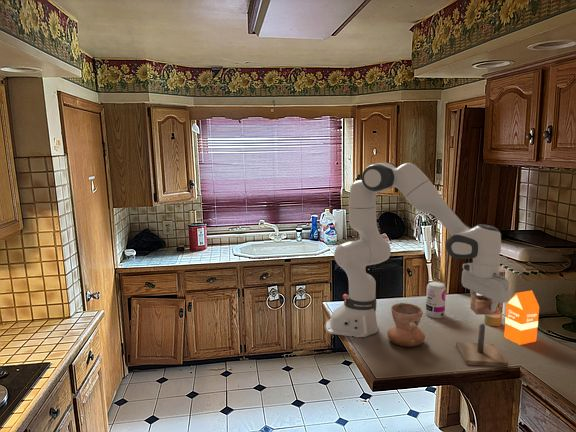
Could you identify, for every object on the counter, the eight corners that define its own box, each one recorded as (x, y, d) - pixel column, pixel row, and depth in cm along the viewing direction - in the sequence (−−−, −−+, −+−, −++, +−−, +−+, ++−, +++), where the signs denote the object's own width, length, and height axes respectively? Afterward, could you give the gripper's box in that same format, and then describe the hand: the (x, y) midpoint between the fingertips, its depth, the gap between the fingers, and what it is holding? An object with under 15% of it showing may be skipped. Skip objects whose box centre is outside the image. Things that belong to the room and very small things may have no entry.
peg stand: (465, 364, 152) (467, 331, 150) (455, 345, 166) (457, 315, 163) (506, 366, 150) (509, 333, 148) (493, 347, 164) (495, 317, 162)
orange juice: (503, 336, 173) (507, 290, 169) (520, 333, 176) (524, 287, 172) (520, 345, 166) (524, 296, 162) (536, 341, 168) (541, 293, 165)
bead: (476, 314, 152) (477, 301, 151) (470, 308, 158) (471, 295, 157) (493, 314, 151) (494, 301, 151) (486, 308, 157) (487, 295, 157)
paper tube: (484, 325, 183) (488, 270, 179) (483, 319, 189) (487, 265, 185) (502, 328, 181) (506, 271, 176) (500, 321, 187) (504, 267, 183)
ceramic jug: (430, 352, 161) (432, 316, 159) (392, 352, 161) (394, 316, 159) (416, 332, 179) (417, 299, 177) (382, 332, 179) (383, 300, 177)
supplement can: (446, 313, 196) (447, 282, 194) (441, 320, 190) (443, 288, 187) (428, 310, 201) (429, 280, 198) (423, 316, 194) (424, 285, 191)
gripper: (515, 277, 143) (513, 315, 145) (473, 261, 162) (471, 296, 165) (500, 279, 141) (498, 318, 144) (459, 263, 161) (457, 298, 163)
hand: (483, 306), depth 154 cm, fingers closed on bead, 7 cm apart
